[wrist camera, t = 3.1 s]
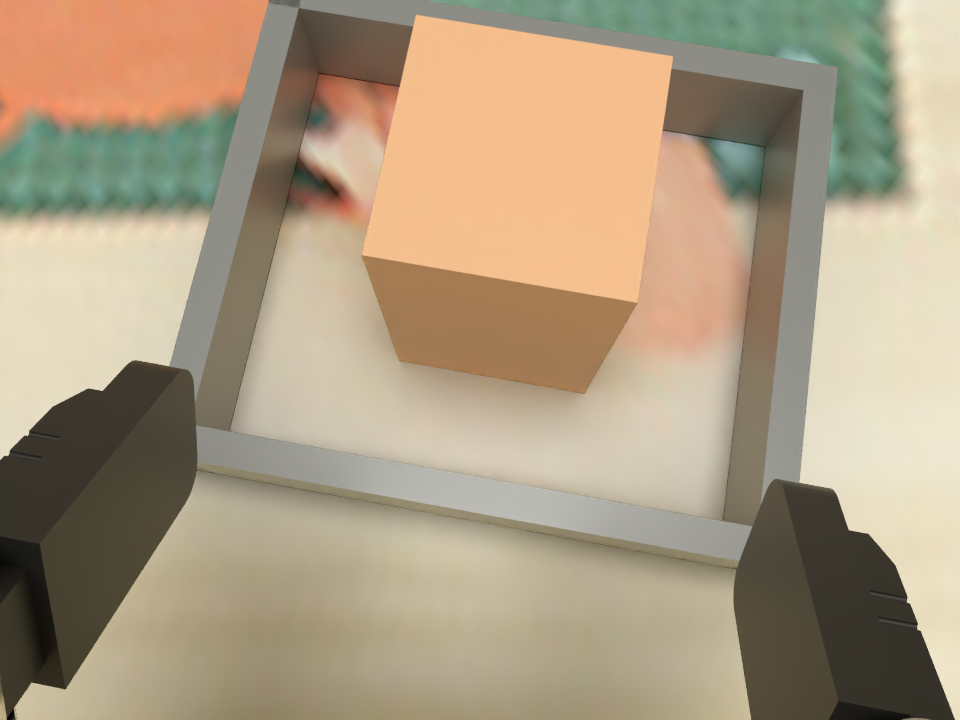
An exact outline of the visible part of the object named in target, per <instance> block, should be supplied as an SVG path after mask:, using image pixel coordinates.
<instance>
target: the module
mask: <svg viewBox="0 0 960 720" xmlns="http://www.w3.org/2000/svg"><path fill="white" fill-rule="evenodd" d="M672 61H673V56H668V55H662V54H656V53H649V52H643V51H637V50H631V49H625V48H619V47H612V46H606V45H600V44H594V43H588V42H581V41H575V40H569V39H563V38H557V37H551V36H544V35H538V34H532V33H526V32H520V31H513V30H507V29H501V28H495V27H489V26H483V25H476V24H470V23H464V22H458V21H452V20H446V19H439V18H433V17H427V16H421V15H416V17H415V21H414V26H413V30H412V35H411V39H410V44H409V48H408V52H407V57H406V61H405V66H404V70H403V75H402V79H401V83H400V88H399V92H398V97H397V101H396V106H395V110H394V114H393V119H392V123H391V128H390V132H389V137H388V141H387V145H386V150H385V154H384V159H383V163H382V168H381V172H380V176H379V181H378V185H377V190H376V194H375V199H374V203H373V207H372V212H371V216H370V221H369V225H368V230H367V234H366V238H365V243H364V247H363V252H362V257H363V260H364V263H365V266H366V268H367V271H368V274H369V277H370V280H371V283H372V285H373V288H374V291H375V294H376V297H377V299H378V302H379V305H380V308H381V311H382V313H383V316H384V319H385V322H386V325H387V327H388V330H389V333H390V336H391V339H392V342H393V344H394V347H395V350H396V353H397V356H398V358H399V361H404V362H409V363H415V364H421V365H426V366H432V367H438V368H443V369H449V370H454V371H460V372H466V373H471V374H477V375H483V376H488V377H494V378H500V379H505V380H511V381H516V382H522V383H528V384H533V385H539V386H545V387H550V388H556V389H562V390H567V391H573V392H578V393H585V391H586V390H587V388H588V386H589V384H590V383H591V381H592V379H593V378H594V376H595V374H596V373H597V371H598V369H599V367H600V366H601V364H602V362H603V361H604V359H605V357H606V356H607V354H608V352H609V350H610V349H611V347H612V345H613V344H614V342H615V340H616V339H617V337H618V335H619V333H620V332H621V330H622V328H623V327H624V325H625V323H626V322H627V320H628V318H629V316H630V315H631V313H632V311H633V310H634V308H635V306H636V305H637V303H638V296H639V289H640V283H641V276H642V269H643V262H644V255H645V248H646V241H647V234H648V227H649V220H650V213H651V206H652V200H653V193H654V186H655V179H656V172H657V165H658V158H659V151H660V144H661V137H662V130H663V123H664V117H665V110H666V103H667V96H668V89H669V82H670V75H671V68H672Z"/></svg>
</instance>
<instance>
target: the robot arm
mask: <svg viewBox="0 0 960 720" xmlns="http://www.w3.org/2000/svg"><path fill="white" fill-rule="evenodd" d="M197 461H198V456H197V435H196V415H195V395H194V381H193V377H192V374H191V373H190V371H188V370H186V369H180V368H175V367H169V366H164V365H158V364H153V363H147V362H142V361H136V360H135V361H132V362H130V363H129V364H127V365H126V366H125V367H124V369H123V370H122V371H121V372H120V373H119V374H118V375H117V376H116V377H115V378H114V379H113V380H112V382H111V383H110V384H109V385H108V386H107V387H106V388H105V389H104V390H103V391H99V390H94V389H86V390H84V391H83V392H81V393H79V394H77V395H75V396H73V397H71V398H69V399H67V400H65V401H63V402H61V403H59V404H57V405H55V406H53V407H52V408H51V409H50V410H49V411H48V412H47V413H46V414H45V415H44V416H43V417H42V418H41V419H40V420H39V421H38V422H37V423H36V425H35V426H34V427H33V428H32V429H31V430H30V431H29V435H28V436H24V437H23V438H22V439H21V440H20V441H19V442H18V443H17V444H16V445H15V446H14V447H13V448H12V449H11V450H10V454H9V456H4V457H3V458H2V459H1V460H0V720H18V718H17V713H16V709H15V706H16V704H17V703H18V701H19V700H20V698H21V697H22V695H23V694H24V693H25V691H26V690H27V688H28V687H29V685H30V684H31V682H32V683H37V684H42V685H47V686H52V687H57V688H62V689H66V688H67V686H68V685H69V683H70V682H71V680H72V678H73V677H74V675H75V674H76V672H77V671H78V669H79V668H80V666H81V664H82V663H83V661H84V660H85V658H86V657H87V655H88V654H89V652H90V651H91V649H92V647H93V646H94V644H95V643H96V641H97V640H98V638H99V637H100V635H101V633H102V632H103V630H104V629H105V627H106V626H107V624H108V623H109V621H110V619H111V618H112V616H113V615H114V613H115V612H116V610H117V609H118V607H119V605H120V604H121V602H122V601H123V599H124V598H125V596H126V595H127V593H128V592H129V590H130V588H131V587H132V585H133V584H134V582H135V581H136V579H137V578H138V576H139V574H140V573H141V571H142V570H143V568H144V567H145V565H146V564H147V562H148V560H149V559H150V557H151V556H152V554H153V553H154V551H155V550H156V548H157V546H158V545H159V543H160V542H161V540H162V539H163V537H164V536H165V534H166V533H167V531H168V529H169V528H170V526H171V525H172V523H173V522H174V520H175V519H176V517H177V515H178V514H179V512H180V511H181V509H182V508H183V506H184V505H185V503H186V501H187V499H188V497H189V495H190V493H191V490H192V487H193V484H194V480H195V476H196V471H197ZM734 611H735V617H736V624H737V630H738V637H739V643H740V650H741V656H742V662H743V669H744V675H745V682H746V688H747V695H748V701H749V707H750V714H751V720H955V719H954V716H953V714H952V711H951V708H950V706H949V703H948V701H947V698H946V695H945V693H944V690H943V688H942V685H941V682H940V680H939V677H938V675H937V672H936V670H935V667H934V664H933V662H932V659H931V657H930V654H929V651H928V649H927V646H926V644H925V641H924V638H923V636H922V633H921V631H919V630H917V625H918V623H917V620H916V618H915V615H914V613H913V610H912V607H911V605H910V604H909V603H907V594H906V592H905V589H904V587H903V584H902V581H901V579H900V576H899V574H898V571H897V569H896V566H895V564H894V563H893V562H892V561H891V560H890V558H889V557H888V556H887V555H886V554H885V553H884V552H883V550H882V549H881V548H880V547H879V546H878V545H877V543H876V542H875V541H874V540H873V539H872V538H871V536H870V535H869V534H866V533H860V532H855V531H849V530H848V527H847V524H846V521H845V518H844V515H843V512H842V509H841V506H840V503H839V500H838V497H837V495H836V493H835V492H834V490H832V489H830V488H824V487H819V486H813V485H808V484H802V483H797V482H791V481H786V480H780V479H774V480H773V481H772V482H771V483H770V484H769V486H768V488H767V490H766V493H765V495H764V498H763V500H762V503H761V506H760V508H759V511H758V513H757V516H756V519H755V521H754V524H753V526H752V529H751V532H750V534H749V537H748V539H747V542H746V545H745V547H744V550H743V552H742V555H741V558H740V560H739V563H738V567H737V571H736V576H735V583H734Z"/></svg>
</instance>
